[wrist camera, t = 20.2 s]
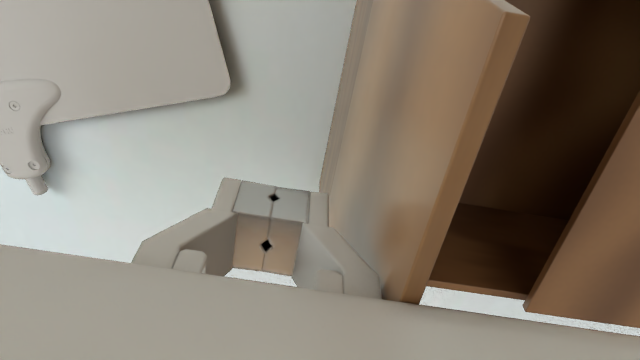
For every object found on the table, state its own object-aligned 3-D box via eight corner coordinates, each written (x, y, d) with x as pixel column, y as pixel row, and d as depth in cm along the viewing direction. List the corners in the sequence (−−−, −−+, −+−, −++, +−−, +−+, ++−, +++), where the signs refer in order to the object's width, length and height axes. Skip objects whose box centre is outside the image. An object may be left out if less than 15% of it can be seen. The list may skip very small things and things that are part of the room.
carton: (319, 182, 28) (315, 283, 21) (374, -86, 21) (395, -68, 14) (626, 231, 30) (717, 340, 23) (776, -6, 23) (976, 47, 16)
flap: (320, 280, 21) (311, 279, 21) (401, -65, 14) (387, -67, 14) (337, 517, 14) (322, 516, 14) (533, 16, 6) (504, 11, 6)
